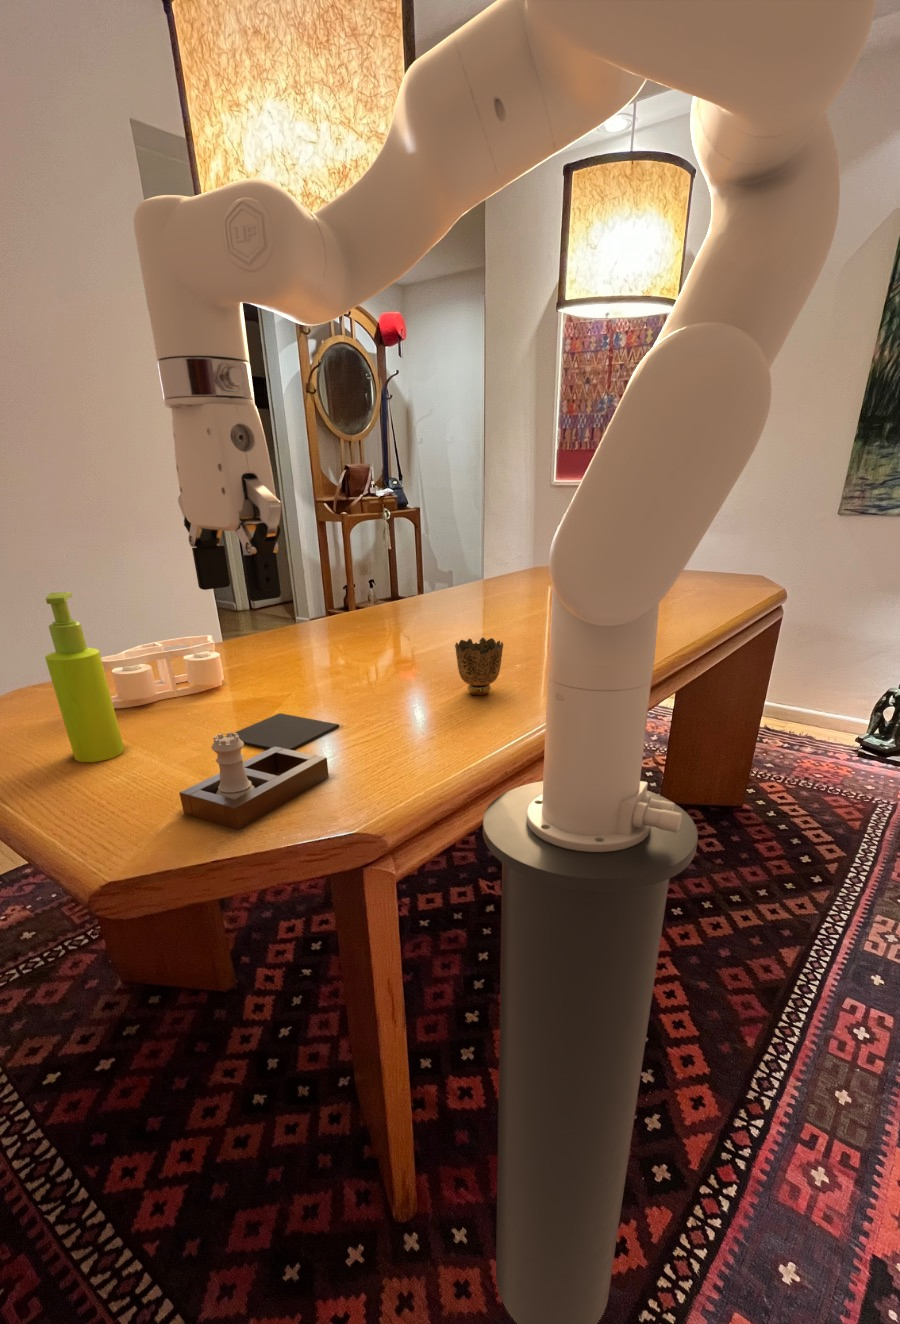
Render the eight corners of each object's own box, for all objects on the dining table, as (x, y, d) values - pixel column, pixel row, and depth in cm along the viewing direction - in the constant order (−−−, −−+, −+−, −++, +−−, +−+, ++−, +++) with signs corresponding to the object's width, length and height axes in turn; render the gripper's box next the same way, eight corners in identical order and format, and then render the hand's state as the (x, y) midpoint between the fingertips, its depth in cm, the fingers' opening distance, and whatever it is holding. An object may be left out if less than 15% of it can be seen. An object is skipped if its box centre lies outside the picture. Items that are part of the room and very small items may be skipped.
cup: (458, 701, 104) (457, 649, 100) (453, 687, 110) (452, 638, 107) (505, 699, 104) (506, 647, 101) (499, 685, 111) (499, 636, 107)
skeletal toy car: (116, 715, 101) (104, 667, 98) (94, 698, 109) (83, 653, 105) (240, 687, 113) (233, 643, 109) (213, 674, 120) (206, 633, 117)
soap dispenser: (126, 740, 92) (88, 587, 83) (122, 758, 86) (80, 596, 77) (79, 745, 90) (35, 591, 81) (71, 765, 84) (22, 600, 75)
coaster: (339, 727, 94) (339, 724, 94) (286, 753, 86) (285, 750, 86) (280, 715, 99) (279, 713, 99) (224, 740, 91) (223, 737, 91)
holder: (329, 777, 79) (326, 757, 78) (238, 830, 68) (234, 808, 67) (277, 765, 83) (274, 746, 82) (183, 813, 71) (178, 792, 70)
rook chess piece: (250, 793, 75) (239, 726, 72) (266, 807, 72) (255, 737, 69) (211, 804, 73) (197, 735, 70) (225, 819, 70) (211, 748, 66)
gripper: (300, 382, 55) (321, 598, 62) (202, 398, 66) (230, 580, 74) (215, 375, 50) (249, 610, 58) (125, 394, 61) (163, 588, 69)
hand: (238, 593), depth 66 cm, fingers open, 9 cm apart
